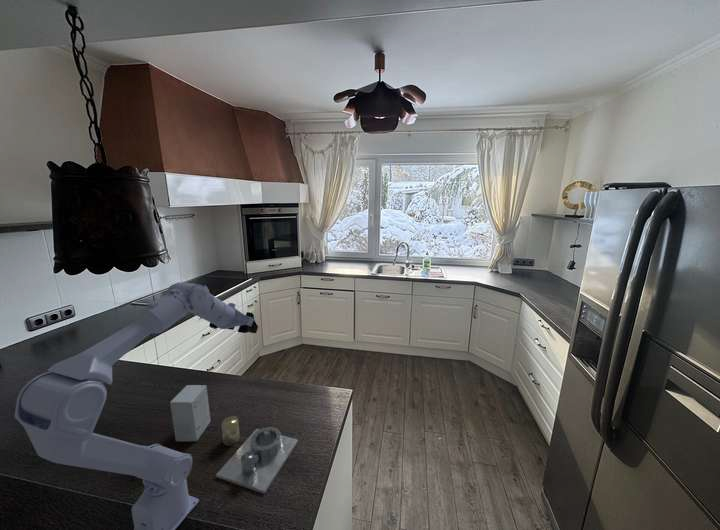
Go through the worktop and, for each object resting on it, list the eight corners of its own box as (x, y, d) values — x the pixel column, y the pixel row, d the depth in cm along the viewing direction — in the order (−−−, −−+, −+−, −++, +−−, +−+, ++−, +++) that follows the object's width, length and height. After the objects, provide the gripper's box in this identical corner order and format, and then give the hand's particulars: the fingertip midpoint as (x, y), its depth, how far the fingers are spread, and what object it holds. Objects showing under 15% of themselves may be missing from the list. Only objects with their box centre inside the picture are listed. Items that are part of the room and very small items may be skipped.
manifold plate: (264, 493, 68) (263, 477, 67) (216, 477, 72) (214, 461, 71) (297, 442, 83) (297, 427, 82) (256, 430, 87) (255, 416, 86)
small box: (191, 421, 90) (186, 384, 88) (211, 421, 90) (207, 384, 88) (174, 441, 82) (169, 402, 80) (196, 442, 82) (191, 402, 80)
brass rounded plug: (232, 447, 81) (230, 428, 79) (219, 443, 82) (217, 425, 81) (242, 435, 85) (241, 417, 84) (230, 431, 86) (229, 414, 85)
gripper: (245, 299, 71) (271, 317, 82) (199, 293, 75) (230, 312, 87) (233, 326, 68) (262, 342, 79) (186, 319, 72) (220, 334, 83)
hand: (244, 328), depth 83 cm, fingers open, 7 cm apart
